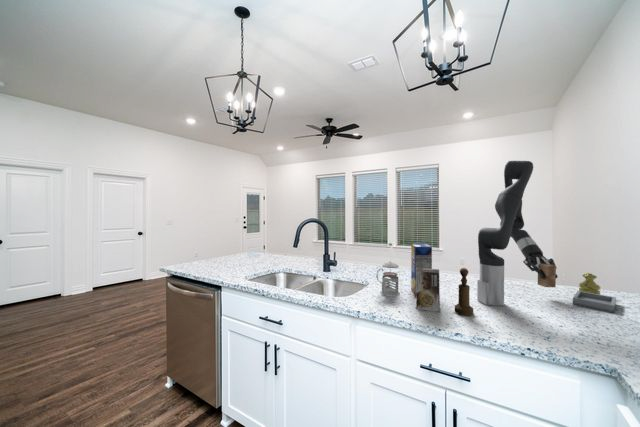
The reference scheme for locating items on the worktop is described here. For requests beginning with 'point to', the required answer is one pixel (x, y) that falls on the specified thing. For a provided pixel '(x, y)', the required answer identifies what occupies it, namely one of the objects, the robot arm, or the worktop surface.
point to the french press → (394, 278)
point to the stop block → (548, 276)
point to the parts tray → (595, 301)
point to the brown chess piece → (464, 296)
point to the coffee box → (427, 289)
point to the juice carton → (419, 261)
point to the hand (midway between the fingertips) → (550, 278)
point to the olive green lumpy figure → (589, 284)
